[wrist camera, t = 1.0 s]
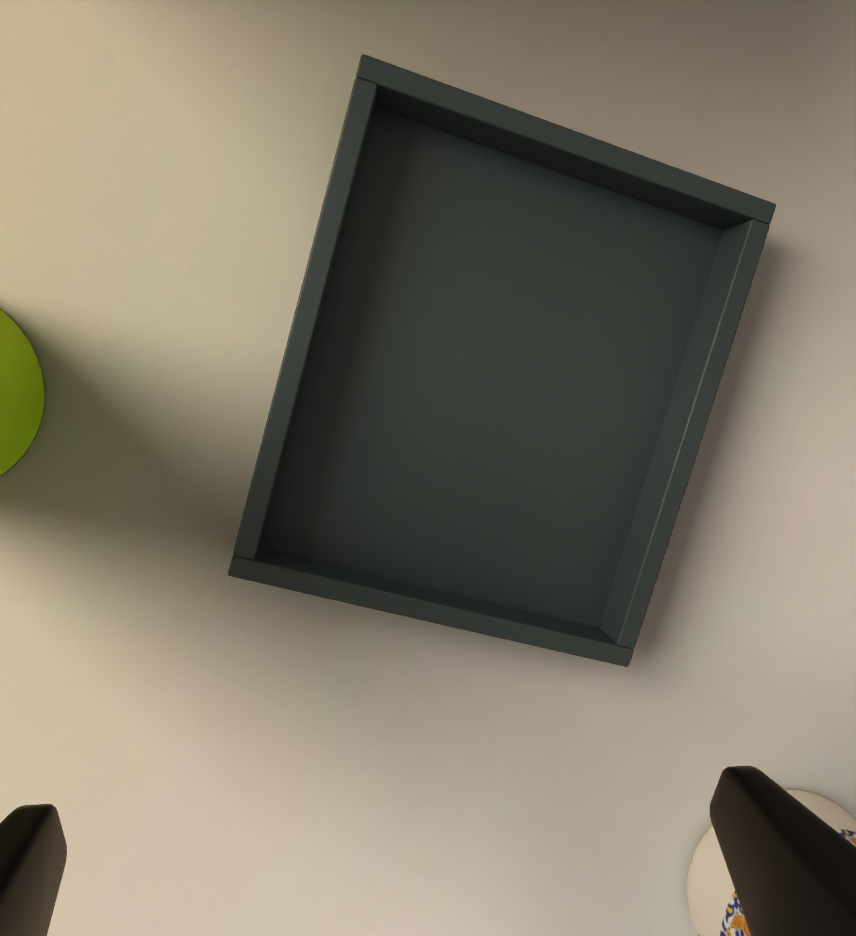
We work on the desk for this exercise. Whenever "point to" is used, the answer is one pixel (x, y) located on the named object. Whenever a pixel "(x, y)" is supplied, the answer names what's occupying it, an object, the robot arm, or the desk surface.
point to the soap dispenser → (18, 393)
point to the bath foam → (712, 882)
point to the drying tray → (495, 371)
